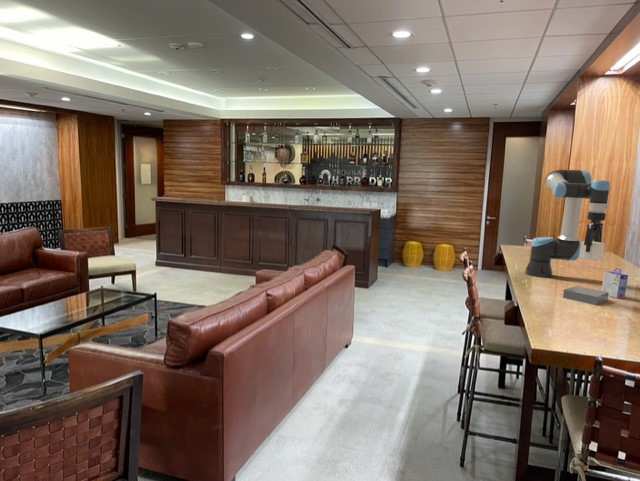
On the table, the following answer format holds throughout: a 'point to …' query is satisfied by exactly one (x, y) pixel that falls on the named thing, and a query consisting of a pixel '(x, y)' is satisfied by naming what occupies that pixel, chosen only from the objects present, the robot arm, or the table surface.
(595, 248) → the cream cube
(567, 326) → the table surface
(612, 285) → the ink cartridge box
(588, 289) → the charcoal riser
